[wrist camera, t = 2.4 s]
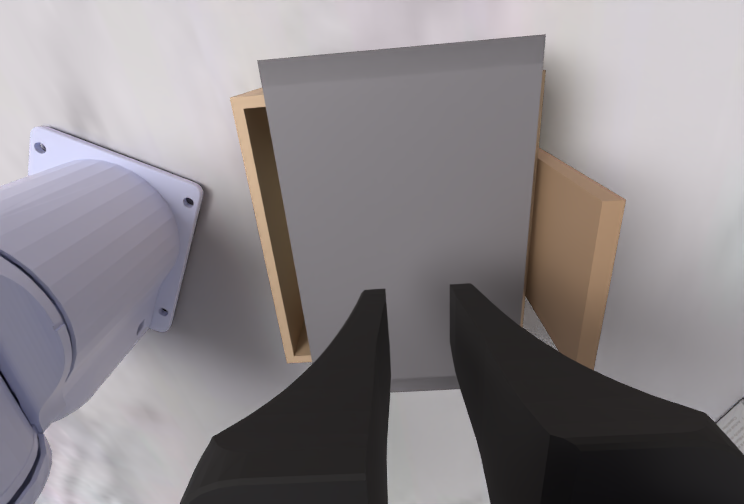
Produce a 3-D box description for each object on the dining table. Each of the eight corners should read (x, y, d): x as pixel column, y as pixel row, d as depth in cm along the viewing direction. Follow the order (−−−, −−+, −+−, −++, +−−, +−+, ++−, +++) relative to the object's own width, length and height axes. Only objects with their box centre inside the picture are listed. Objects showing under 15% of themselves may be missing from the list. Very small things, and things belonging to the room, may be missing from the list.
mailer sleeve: (330, 324, 24) (318, 396, 19) (290, 58, 18) (257, 60, 13) (486, 315, 24) (514, 386, 19) (498, 38, 18) (545, 34, 13)
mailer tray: (301, 312, 24) (260, 454, 15) (260, 87, 19) (164, 118, 10) (507, 300, 23) (580, 440, 15) (524, 65, 18) (649, 76, 10)
